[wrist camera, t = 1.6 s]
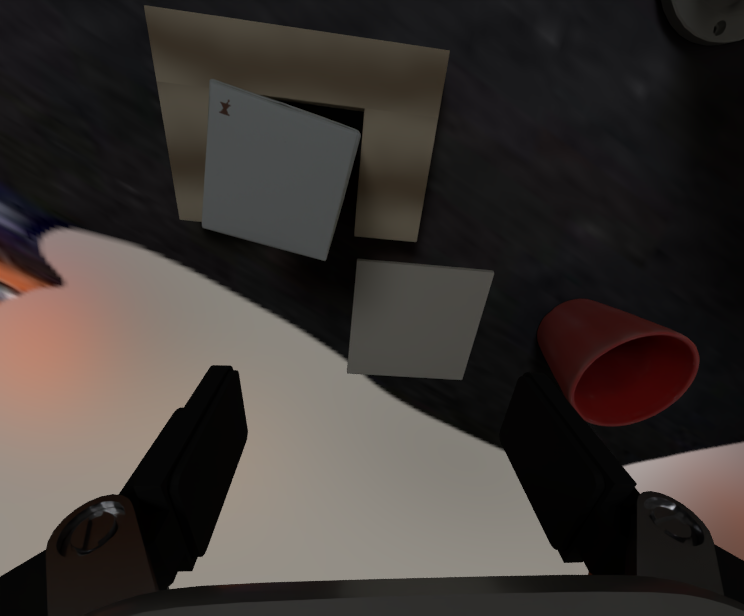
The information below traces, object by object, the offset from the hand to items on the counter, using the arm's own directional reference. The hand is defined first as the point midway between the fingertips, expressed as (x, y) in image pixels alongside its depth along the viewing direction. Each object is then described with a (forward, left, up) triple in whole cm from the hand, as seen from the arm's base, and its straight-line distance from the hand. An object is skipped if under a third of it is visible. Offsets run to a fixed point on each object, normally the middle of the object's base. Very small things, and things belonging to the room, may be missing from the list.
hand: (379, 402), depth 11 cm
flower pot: (+9, +24, -23) cm, 34 cm away
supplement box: (-5, -6, -23) cm, 24 cm away
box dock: (-7, -6, -22) cm, 24 cm away
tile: (+10, +6, -22) cm, 25 cm away
